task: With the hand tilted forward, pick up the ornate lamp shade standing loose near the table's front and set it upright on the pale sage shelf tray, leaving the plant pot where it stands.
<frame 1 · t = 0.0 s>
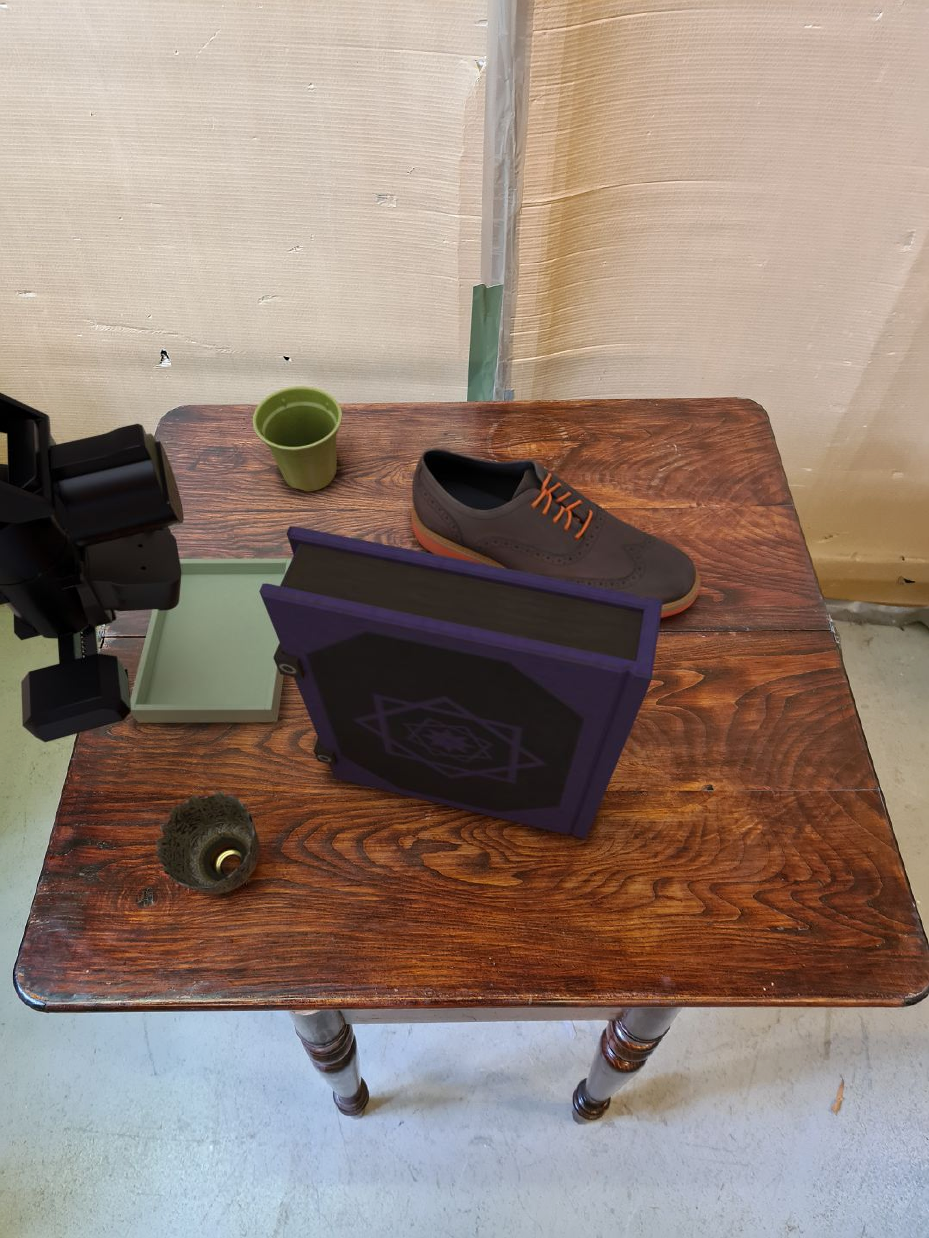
hand: (115, 666, 63), 13 cm above the table, tool pointing down, fingers open, 9 cm apart
ornate lamp shade: (231, 865, 68), on the table
oxford shoe: (546, 567, 85), on the table
shelf tray: (222, 644, 80), on the table
plant pot: (311, 473, 92), on the table
book: (461, 780, 72), on the table
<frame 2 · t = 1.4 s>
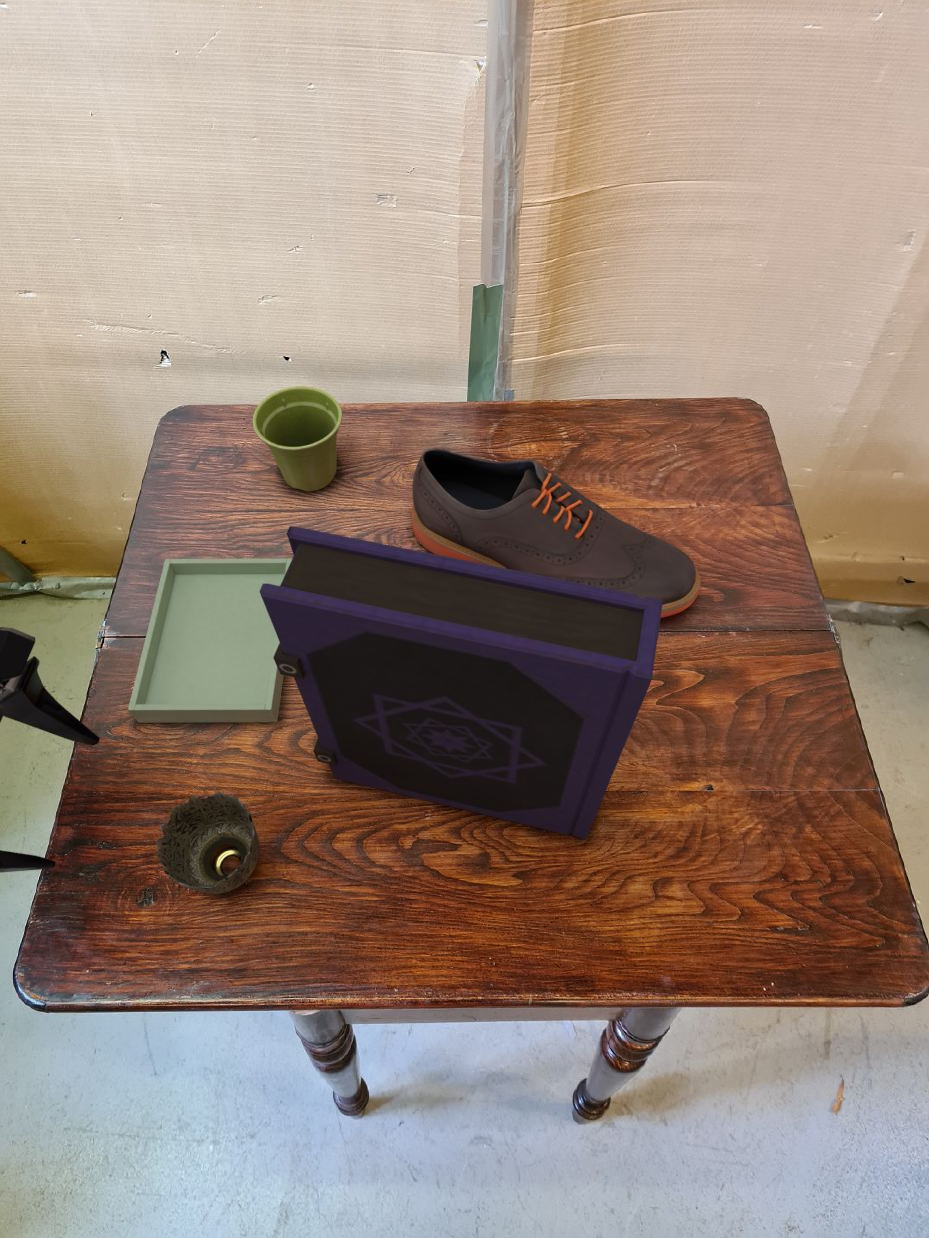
hand: (76, 801, 57), 13 cm above the table, tool tilted 45°, fingers open, 9 cm apart
nothing on the table moved.
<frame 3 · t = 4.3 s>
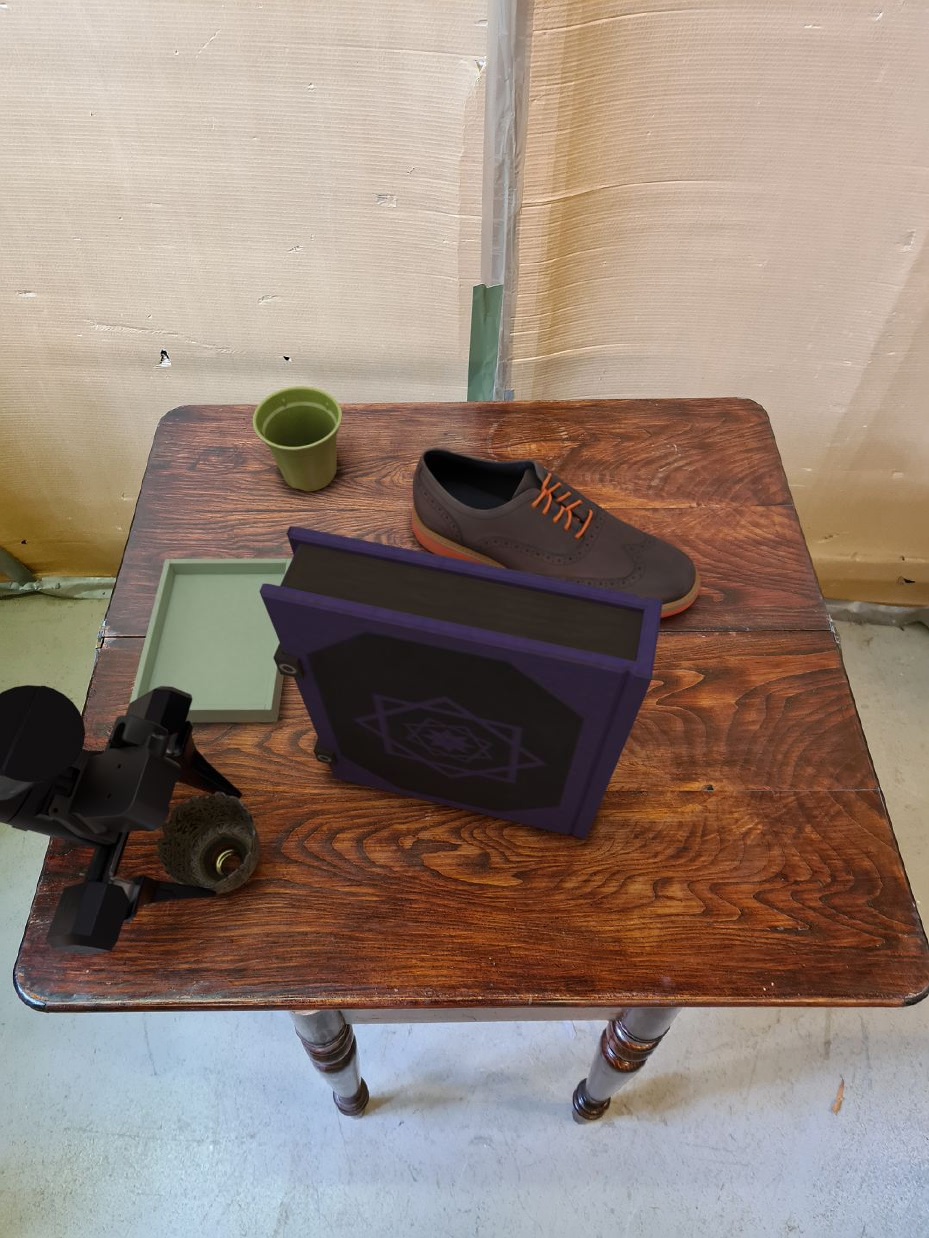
hand: (227, 844, 62), 7 cm above the table, tool tilted 45°, fingers closed on ornate lamp shade, 7 cm apart
ornate lamp shade: (232, 865, 68), on the table, touching gripper
everything else where it was.
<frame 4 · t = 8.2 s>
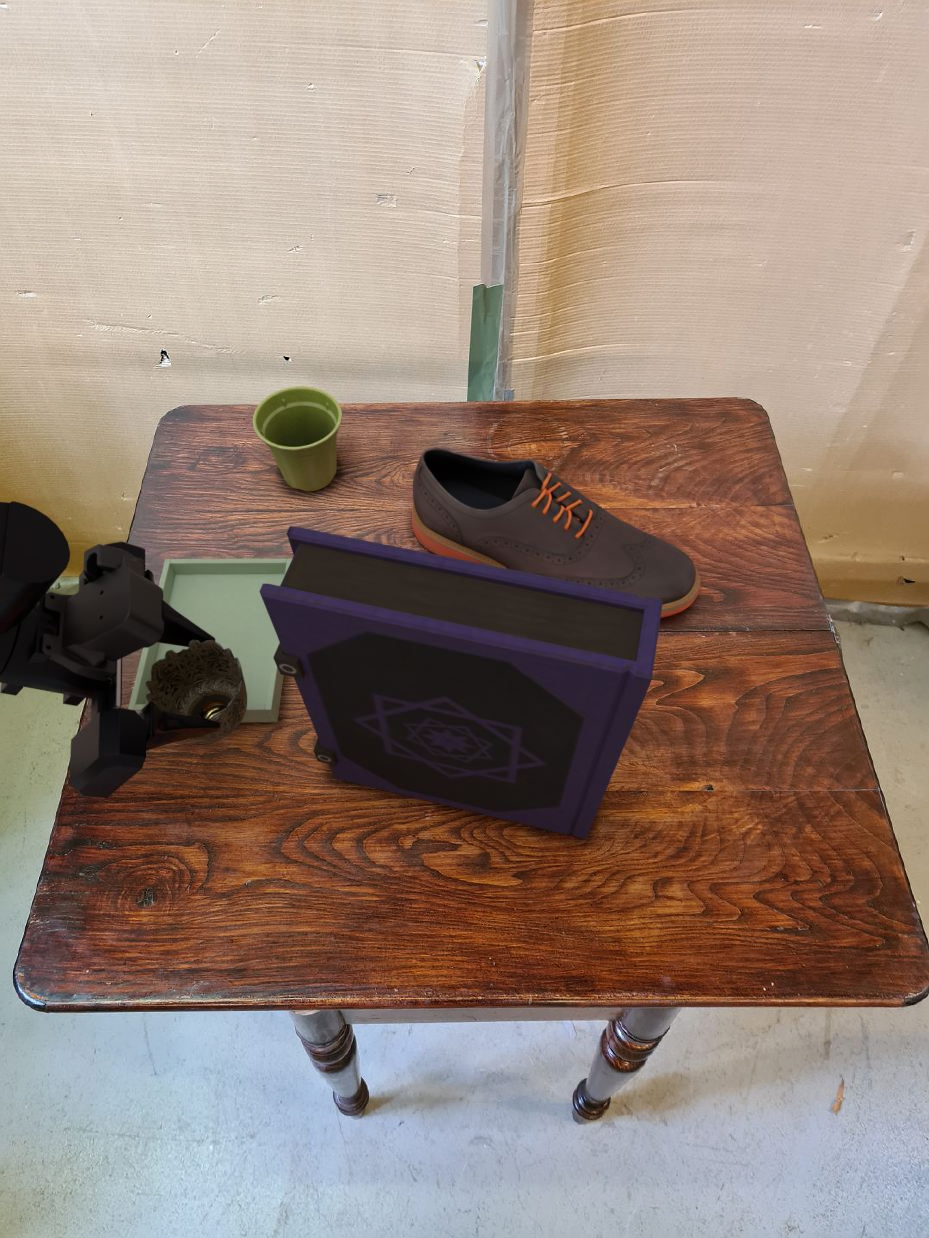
hand: (215, 684, 63), 12 cm above the table, tool tilted 45°, fingers closed on ornate lamp shade, 7 cm apart
ornate lamp shade: (219, 723, 69), point 5 cm above the table, touching gripper
everything else where it was.
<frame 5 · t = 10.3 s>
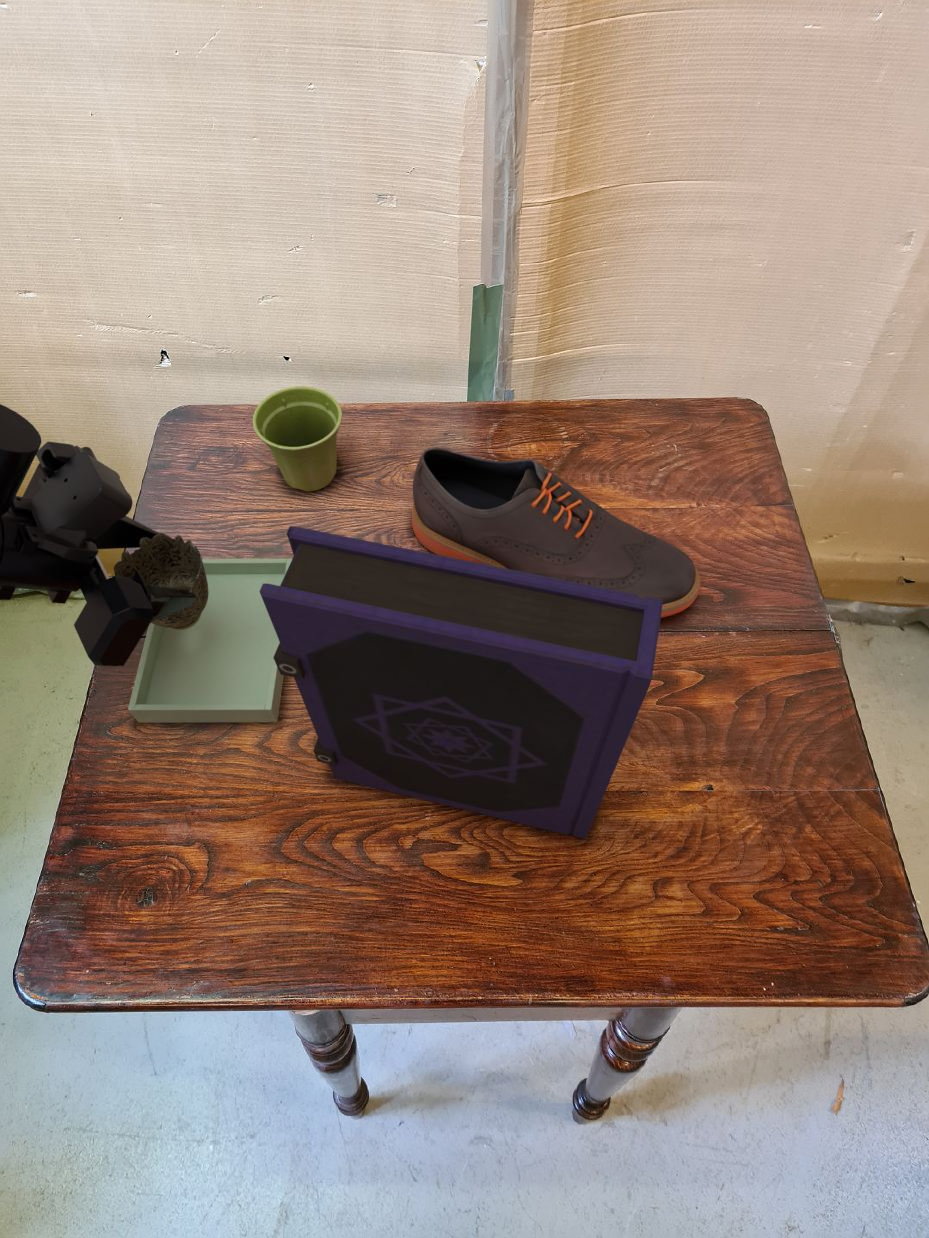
hand: (176, 569, 70), 12 cm above the table, tool tilted 45°, fingers closed on ornate lamp shade, 7 cm apart
ornate lamp shade: (184, 617, 75), point 5 cm above the table, touching gripper
everything else where it was.
when the fingers open (7 cm above the table, at t = 12.2 s): ornate lamp shade stays where it is, resting on shelf tray.
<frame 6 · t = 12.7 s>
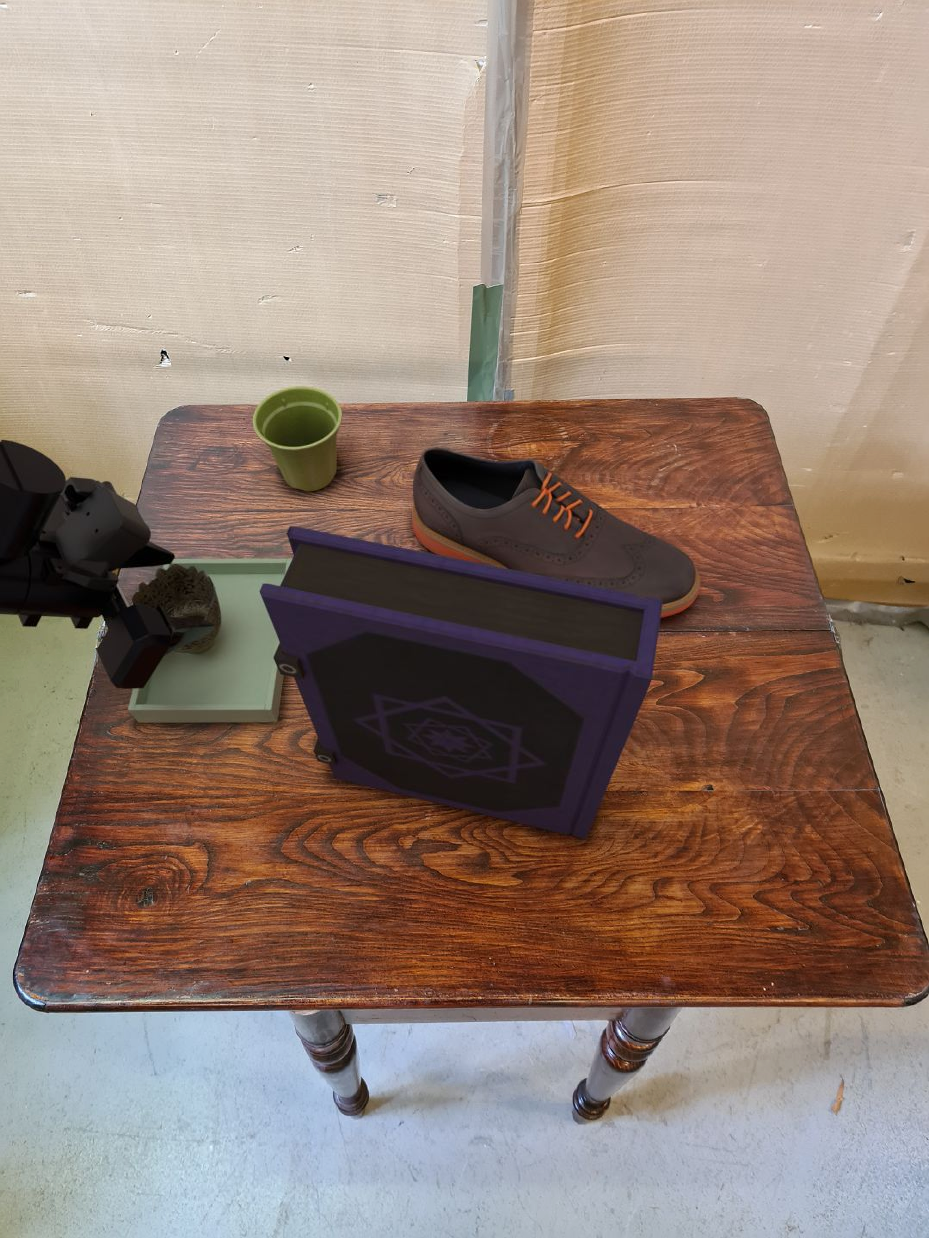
hand: (191, 592, 73), 8 cm above the table, tool tilted 45°, fingers open, 9 cm apart
ornate lamp shade: (199, 642, 79), point 1 cm above the table, touching shelf tray
everything else where it was.
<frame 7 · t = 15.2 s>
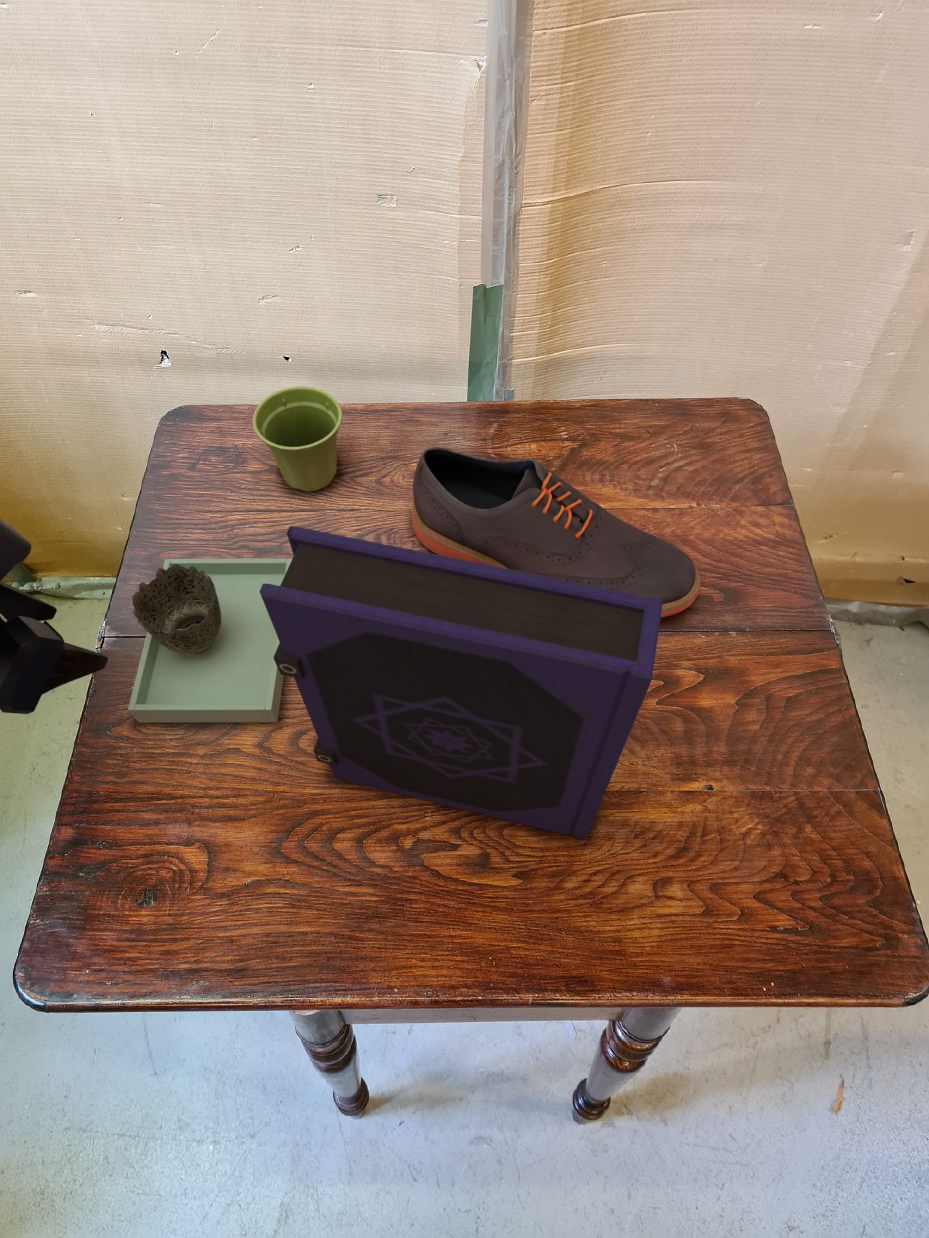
hand: (79, 637, 68), 10 cm above the table, tool tilted 35°, fingers open, 9 cm apart
nothing on the table moved.
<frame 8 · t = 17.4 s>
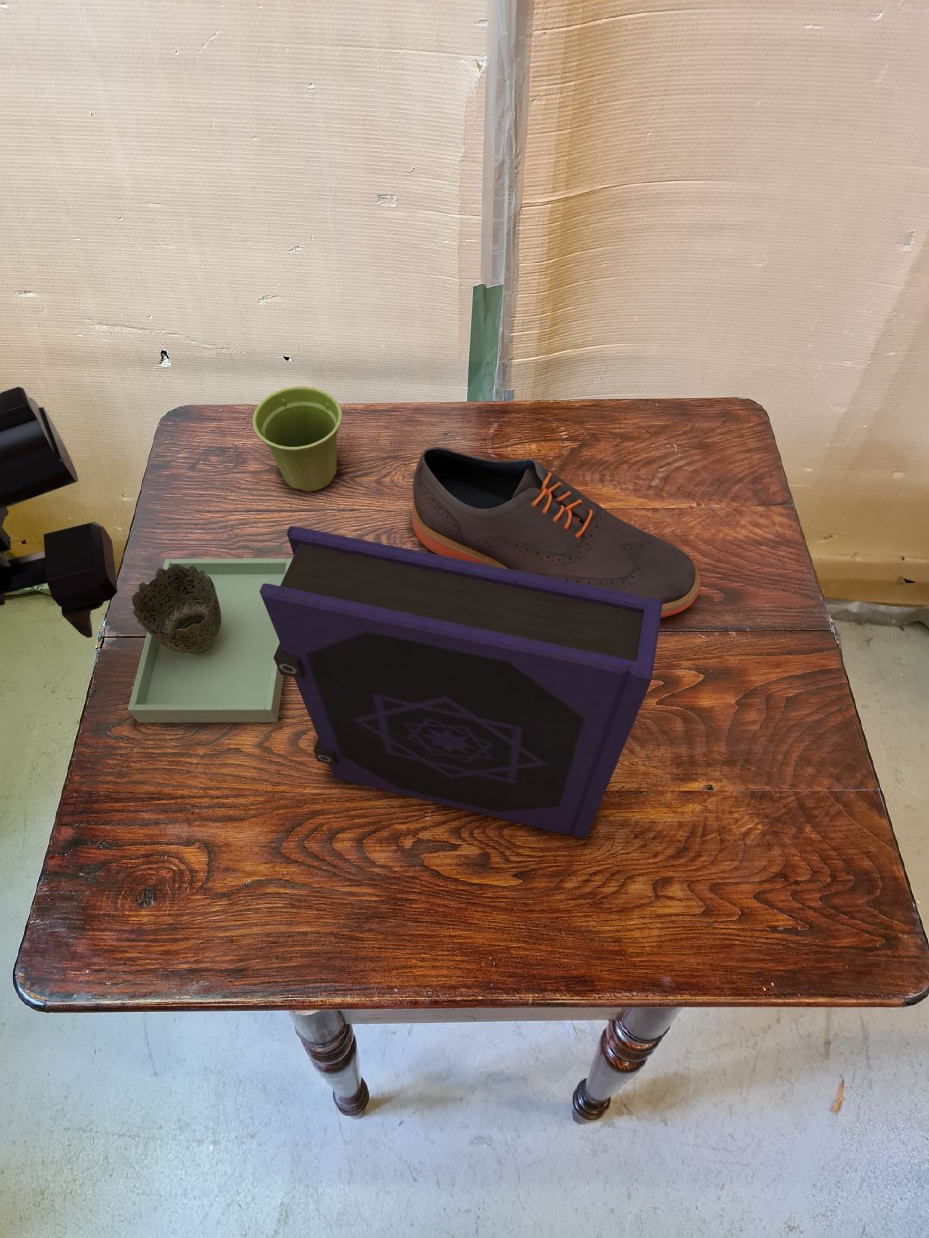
hand: (32, 647, 64), 13 cm above the table, tool pointing down, fingers open, 9 cm apart
nothing on the table moved.
at the end: ornate lamp shade inside the target area in the shelf tray (1.2 cm from its centre), point 0.6 cm above the shelf tray's base; ornate lamp shade tilted 0°; plant pot moved 0.2 cm from its start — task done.
